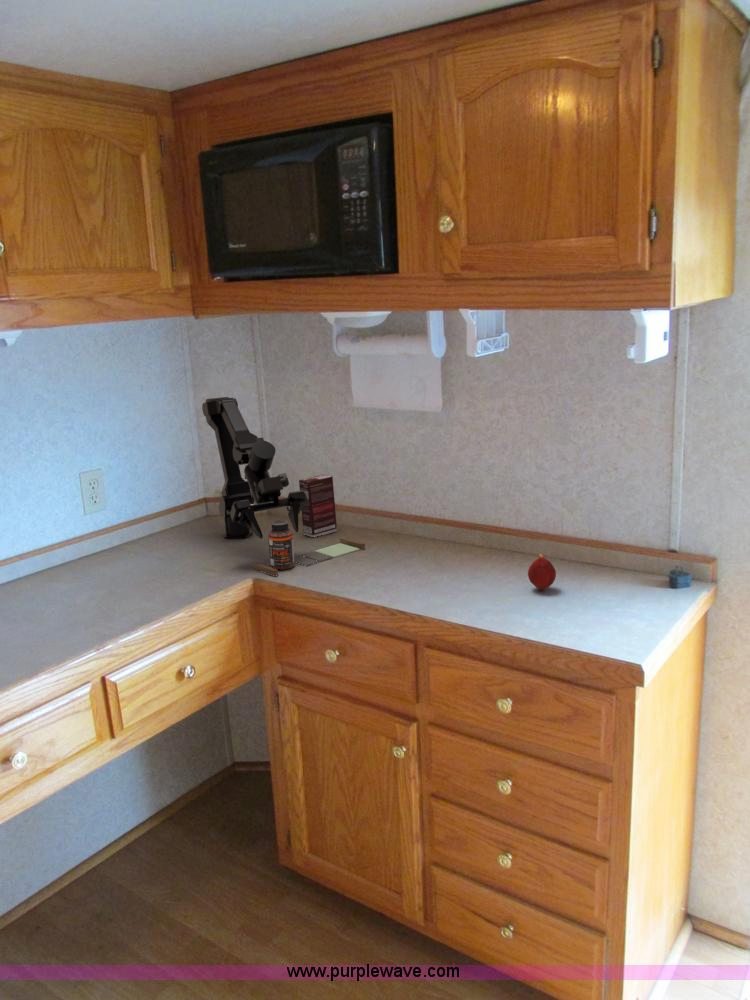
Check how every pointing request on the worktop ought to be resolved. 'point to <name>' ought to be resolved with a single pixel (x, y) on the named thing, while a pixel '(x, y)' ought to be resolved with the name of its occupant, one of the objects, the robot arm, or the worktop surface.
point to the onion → (541, 573)
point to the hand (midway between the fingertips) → (279, 534)
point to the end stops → (275, 571)
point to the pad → (337, 550)
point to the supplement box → (318, 506)
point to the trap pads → (310, 558)
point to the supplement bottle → (281, 546)
